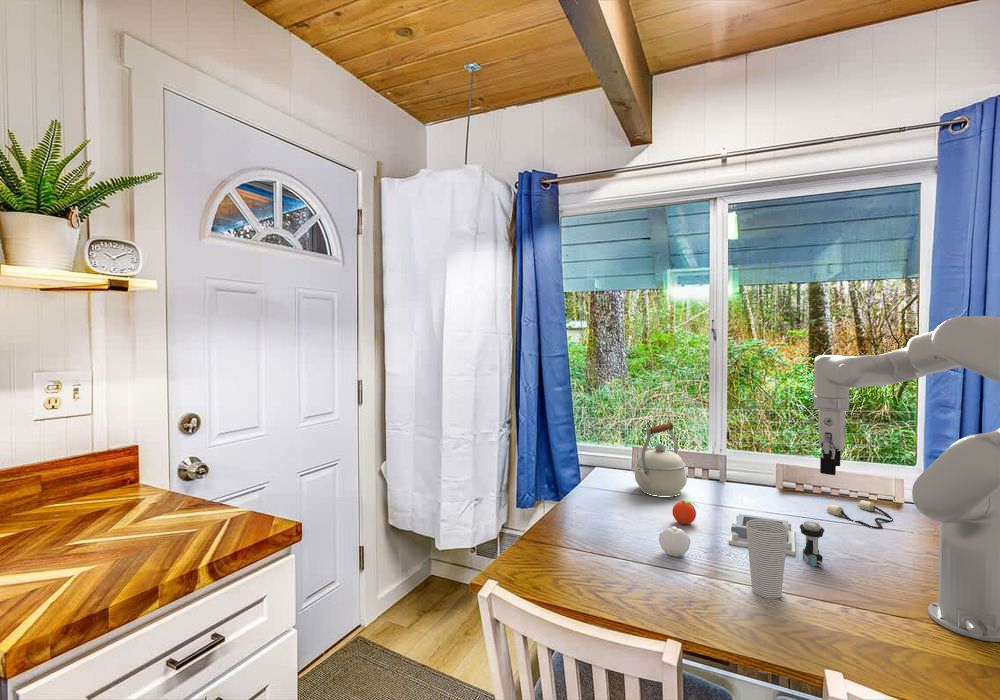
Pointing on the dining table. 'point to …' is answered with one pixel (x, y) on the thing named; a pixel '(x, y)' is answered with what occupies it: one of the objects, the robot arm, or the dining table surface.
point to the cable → (863, 505)
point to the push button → (812, 543)
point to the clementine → (684, 512)
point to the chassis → (740, 532)
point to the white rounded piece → (674, 541)
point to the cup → (766, 556)
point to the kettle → (660, 467)
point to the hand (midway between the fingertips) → (830, 469)
